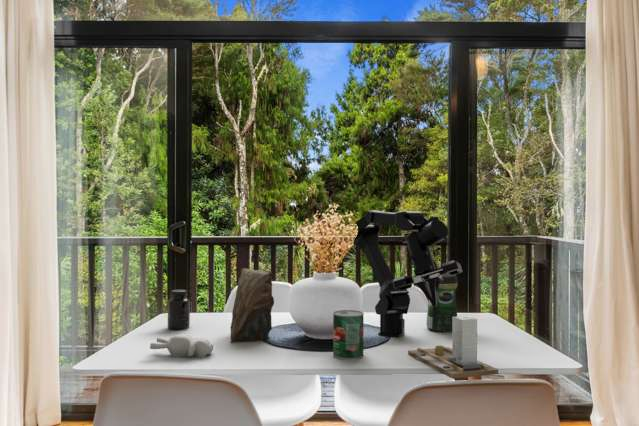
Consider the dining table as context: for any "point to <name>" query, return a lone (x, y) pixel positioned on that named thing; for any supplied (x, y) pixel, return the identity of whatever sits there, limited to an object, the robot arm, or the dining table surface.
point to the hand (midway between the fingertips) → (435, 306)
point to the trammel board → (448, 363)
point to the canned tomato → (348, 334)
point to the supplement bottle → (178, 310)
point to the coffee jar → (443, 305)
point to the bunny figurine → (184, 346)
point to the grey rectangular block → (464, 343)
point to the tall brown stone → (252, 307)
